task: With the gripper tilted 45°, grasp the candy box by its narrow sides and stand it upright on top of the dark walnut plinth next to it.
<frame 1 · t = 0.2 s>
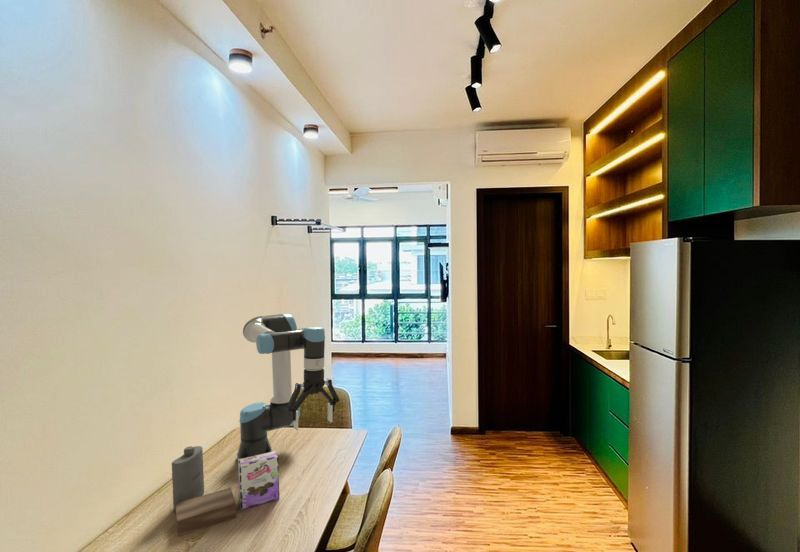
hand: (313, 424, 151), 27 cm above the table, tool pointing down, fingers open, 13 cm apart
flask: (190, 500, 152), on the table
candy box: (259, 501, 150), on the table
walnut plinth: (206, 517, 141), on the table
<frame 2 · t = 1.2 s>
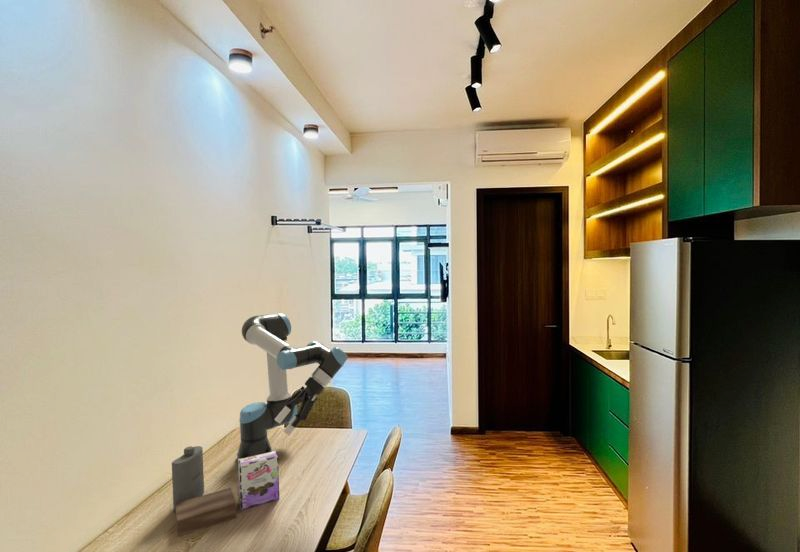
hand: (281, 427, 154), 26 cm above the table, tool tilted 45°, fingers open, 13 cm apart
nothing on the table moved.
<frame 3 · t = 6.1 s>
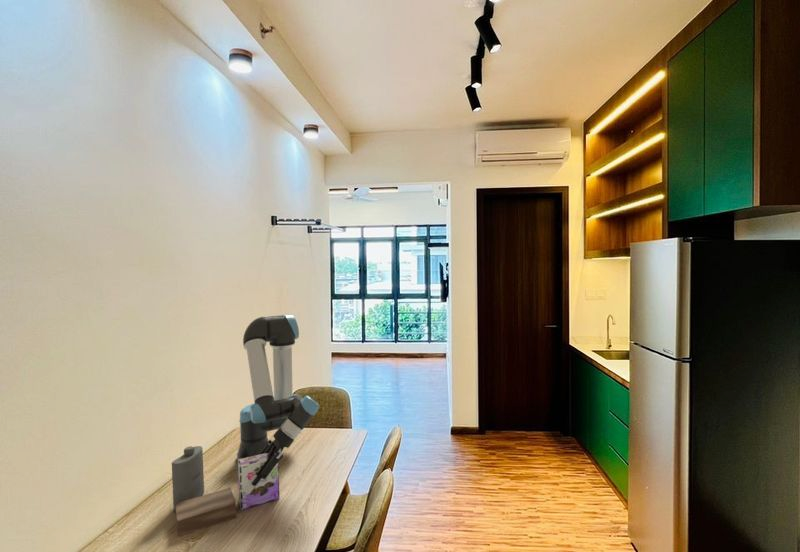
hand: (244, 488, 148), 6 cm above the table, tool tilted 45°, fingers closed on candy box, 6 cm apart
candy box: (259, 501, 150), on the table, touching gripper
everything else where it was.
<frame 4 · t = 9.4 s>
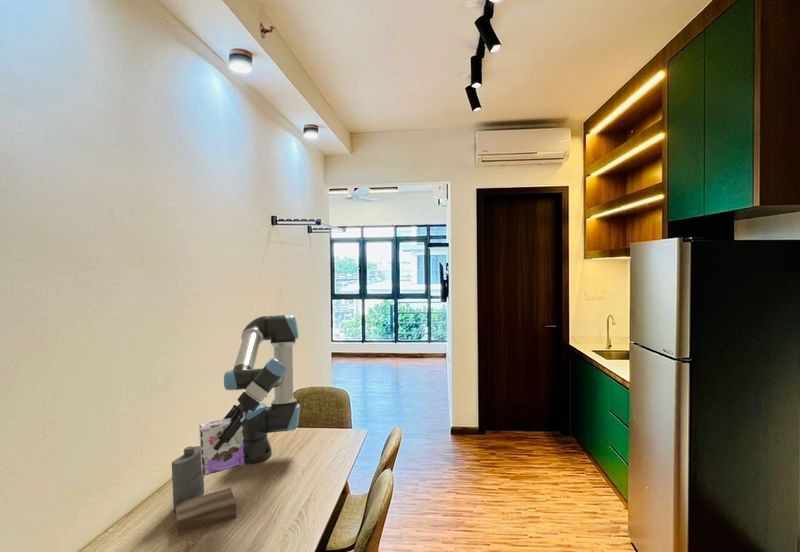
hand: (206, 453, 140), 23 cm above the table, tool tilted 45°, fingers closed on candy box, 6 cm apart
candy box: (223, 467, 143), point 16 cm above the table, touching gripper
everything else where it was.
when the fingers open (13 cm above the table, at t = 12.7 s): candy box drops 1 cm, resting on walnut plinth.
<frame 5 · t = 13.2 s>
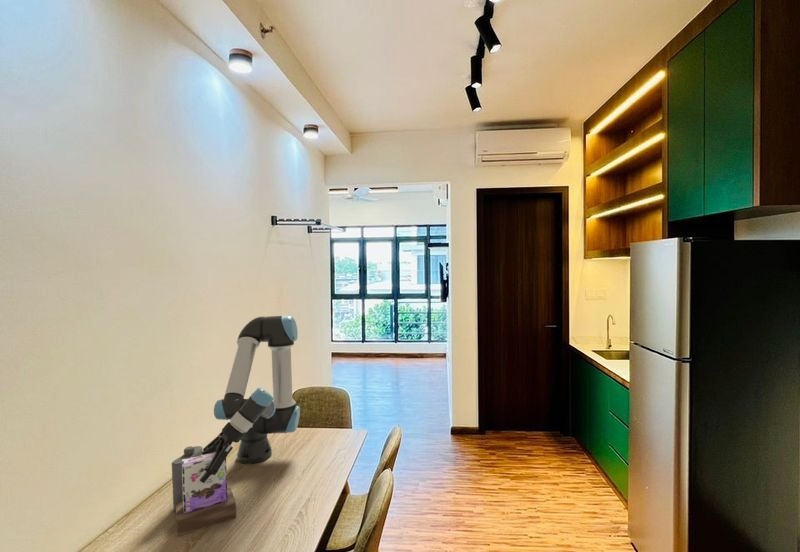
hand: (192, 480, 139), 14 cm above the table, tool tilted 45°, fingers open, 13 cm apart
candy box: (205, 504, 141), point 5 cm above the table, touching walnut plinth
everything else where it was.
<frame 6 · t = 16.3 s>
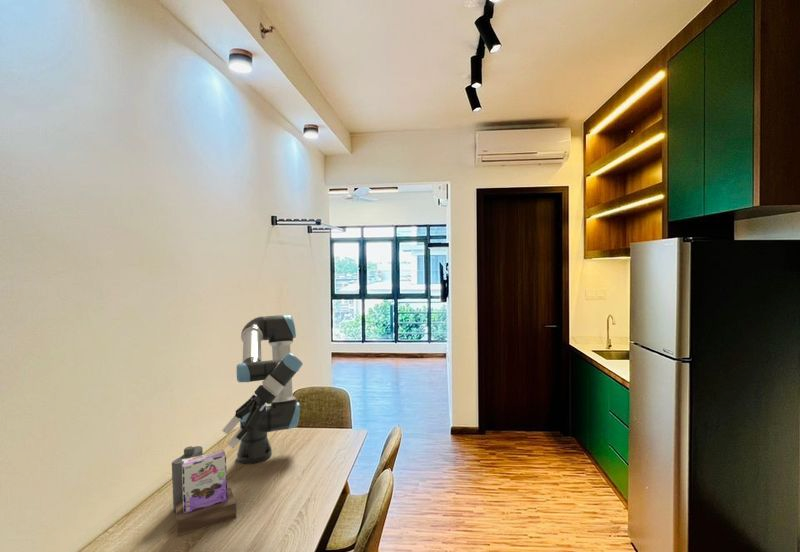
hand: (227, 439, 145), 26 cm above the table, tool tilted 45°, fingers open, 13 cm apart
nothing on the table moved.
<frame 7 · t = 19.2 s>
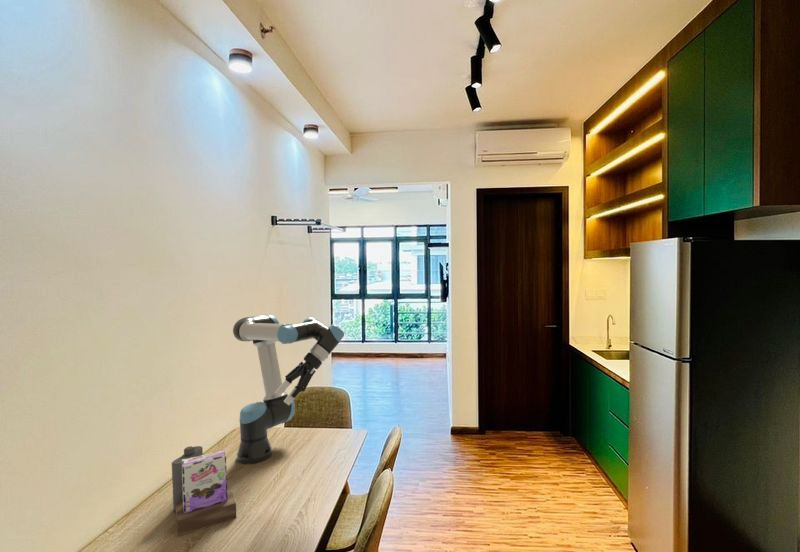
hand: (281, 398, 163), 34 cm above the table, tool tilted 45°, fingers open, 13 cm apart
nothing on the table moved.
at the end: candy box inside the target area on the walnut plinth (0.3 cm from its centre), point 4.8 cm above the walnut plinth's base; candy box tilted 0°; the gripper is holding nothing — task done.
